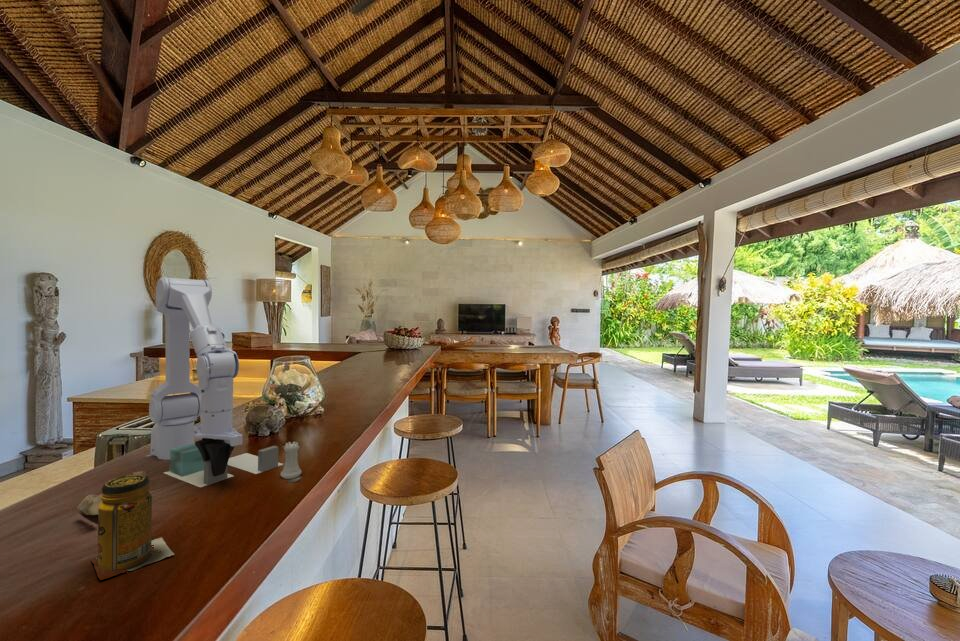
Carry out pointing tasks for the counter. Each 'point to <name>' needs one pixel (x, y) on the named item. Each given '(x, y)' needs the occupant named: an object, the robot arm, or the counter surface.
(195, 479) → the cream strip
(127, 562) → the condiment
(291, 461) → the rook chess piece
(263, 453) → the cream and grey bookend
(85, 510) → the seashell
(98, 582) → the counter surface
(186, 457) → the teal block
